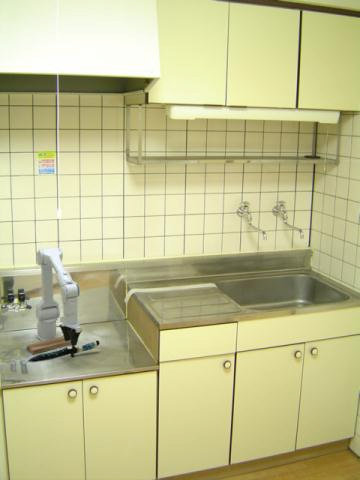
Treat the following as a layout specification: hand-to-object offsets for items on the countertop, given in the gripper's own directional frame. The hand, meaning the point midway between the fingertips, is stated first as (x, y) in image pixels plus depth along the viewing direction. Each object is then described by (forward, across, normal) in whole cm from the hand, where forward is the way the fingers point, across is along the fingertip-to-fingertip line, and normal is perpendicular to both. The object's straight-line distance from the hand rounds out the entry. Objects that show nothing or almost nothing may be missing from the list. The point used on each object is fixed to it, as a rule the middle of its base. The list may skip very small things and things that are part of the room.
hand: (70, 343), depth 224 cm
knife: (+9, -6, 0) cm, 10 cm away
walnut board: (+8, -18, 0) cm, 20 cm away
